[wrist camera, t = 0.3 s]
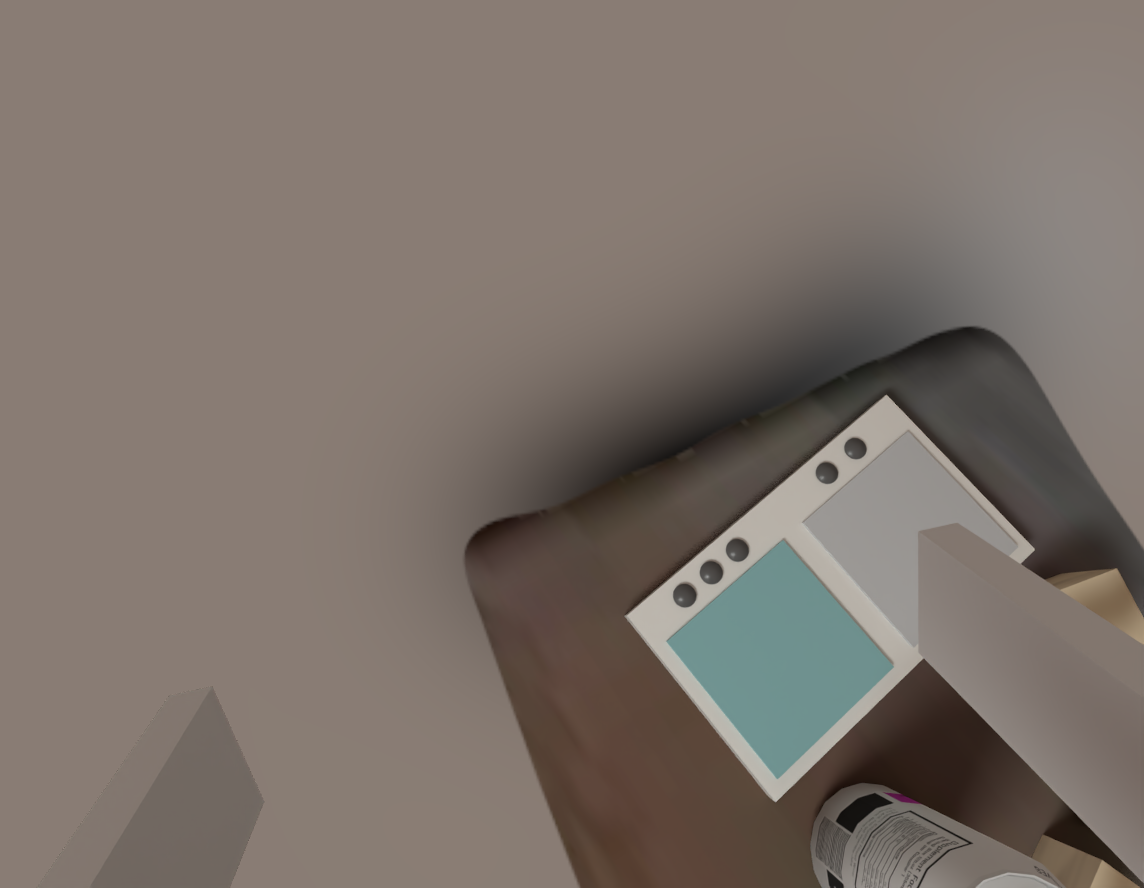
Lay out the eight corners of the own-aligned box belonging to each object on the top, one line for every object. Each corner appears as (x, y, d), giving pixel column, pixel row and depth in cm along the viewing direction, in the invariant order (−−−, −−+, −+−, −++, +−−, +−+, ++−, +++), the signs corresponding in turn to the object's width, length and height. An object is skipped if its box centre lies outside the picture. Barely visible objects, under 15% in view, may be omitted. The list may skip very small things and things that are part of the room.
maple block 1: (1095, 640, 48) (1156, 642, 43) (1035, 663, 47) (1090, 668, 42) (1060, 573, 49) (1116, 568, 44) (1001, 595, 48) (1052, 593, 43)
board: (1020, 551, 49) (1037, 549, 47) (768, 796, 44) (777, 803, 42) (877, 401, 52) (888, 393, 50) (624, 615, 47) (627, 615, 45)
